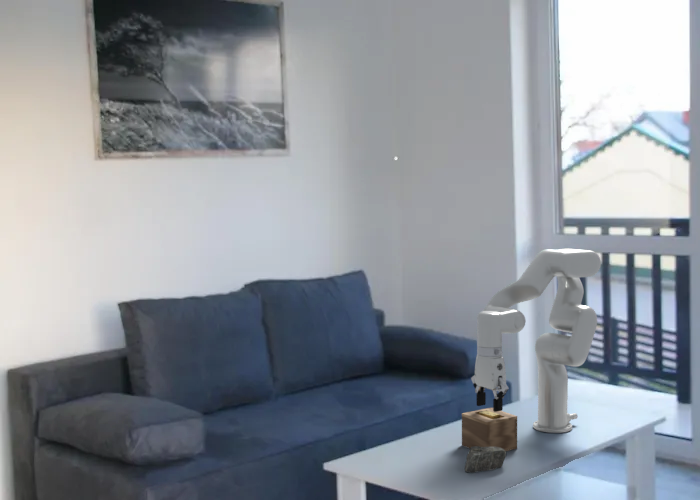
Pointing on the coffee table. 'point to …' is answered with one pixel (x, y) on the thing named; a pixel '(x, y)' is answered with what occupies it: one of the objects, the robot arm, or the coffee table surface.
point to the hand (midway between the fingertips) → (489, 407)
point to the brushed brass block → (489, 414)
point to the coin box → (489, 430)
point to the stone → (484, 458)
